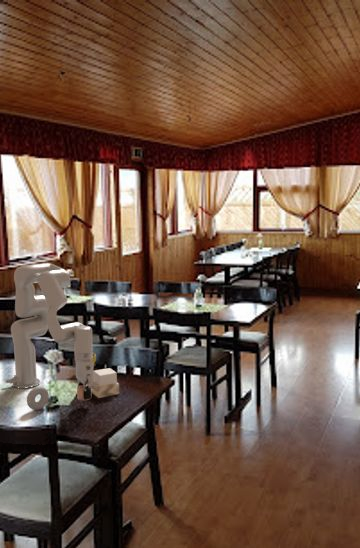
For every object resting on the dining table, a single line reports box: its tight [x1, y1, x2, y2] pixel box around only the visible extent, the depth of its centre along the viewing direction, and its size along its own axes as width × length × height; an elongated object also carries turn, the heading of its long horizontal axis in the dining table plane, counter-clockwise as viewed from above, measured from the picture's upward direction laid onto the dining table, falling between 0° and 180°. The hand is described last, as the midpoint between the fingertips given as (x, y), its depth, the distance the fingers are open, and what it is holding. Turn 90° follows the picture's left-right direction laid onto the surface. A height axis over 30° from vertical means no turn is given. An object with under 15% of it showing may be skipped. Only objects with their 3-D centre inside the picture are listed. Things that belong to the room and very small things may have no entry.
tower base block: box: [91, 382, 120, 399], centre depth 250 cm, size 10×10×5 cm
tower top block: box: [93, 367, 118, 386], centre depth 250 cm, size 8×8×5 cm
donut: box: [26, 385, 50, 411], centre depth 230 cm, size 10×4×10 cm, turn 135°
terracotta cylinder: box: [76, 384, 93, 401], centre depth 233 cm, size 6×6×4 cm
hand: (84, 396), depth 233 cm, fingers closed on terracotta cylinder, 6 cm apart
